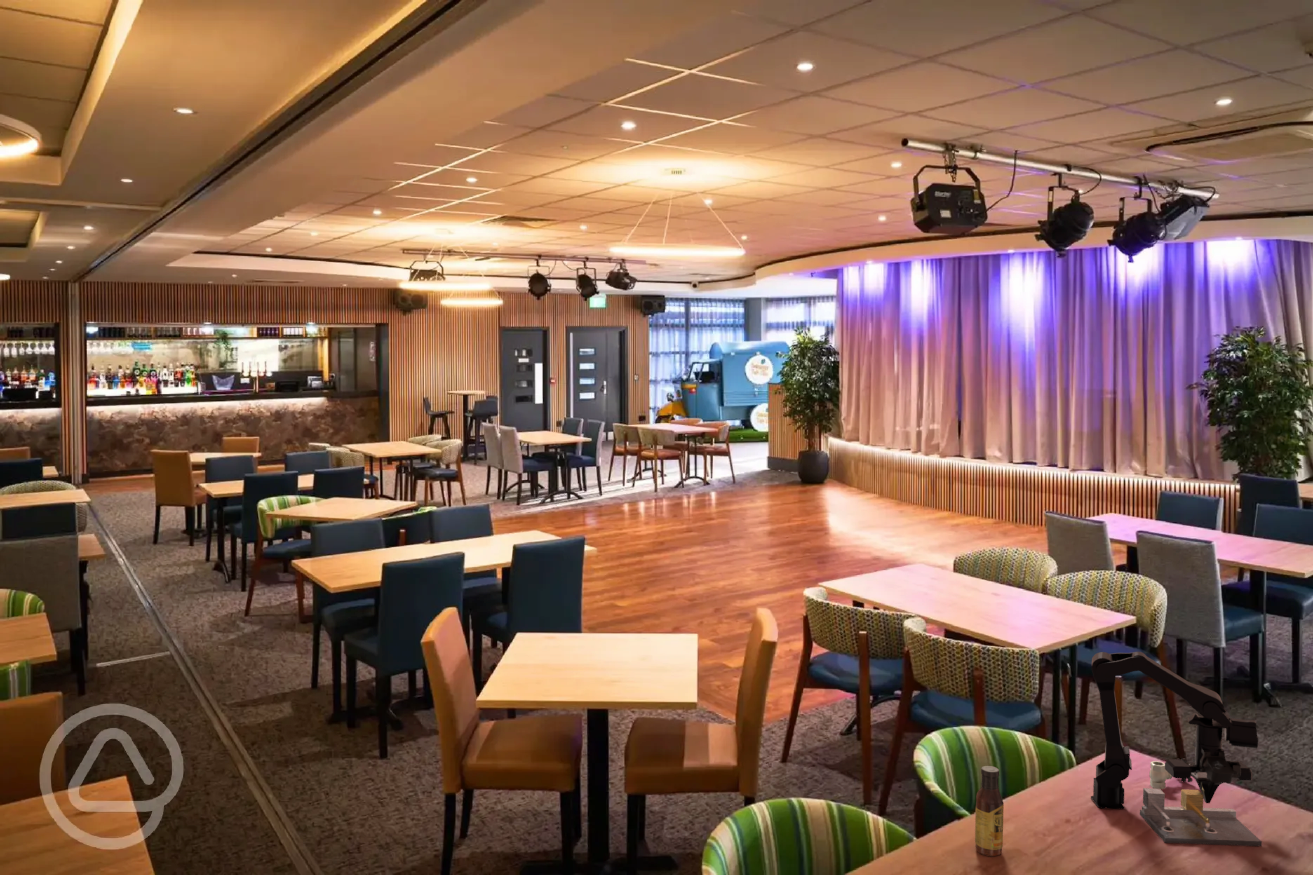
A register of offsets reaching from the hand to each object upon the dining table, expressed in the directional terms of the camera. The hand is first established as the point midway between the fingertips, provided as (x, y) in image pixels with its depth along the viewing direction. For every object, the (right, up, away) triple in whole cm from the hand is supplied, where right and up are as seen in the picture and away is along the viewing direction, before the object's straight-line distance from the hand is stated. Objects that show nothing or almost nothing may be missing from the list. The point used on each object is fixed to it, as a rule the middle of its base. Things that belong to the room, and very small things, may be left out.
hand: (1207, 802), depth 242 cm
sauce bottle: (-60, -6, -14) cm, 62 cm away
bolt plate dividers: (-5, -5, -5) cm, 8 cm away
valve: (+2, -4, +21) cm, 22 cm away
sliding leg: (-4, -3, -3) cm, 6 cm away
